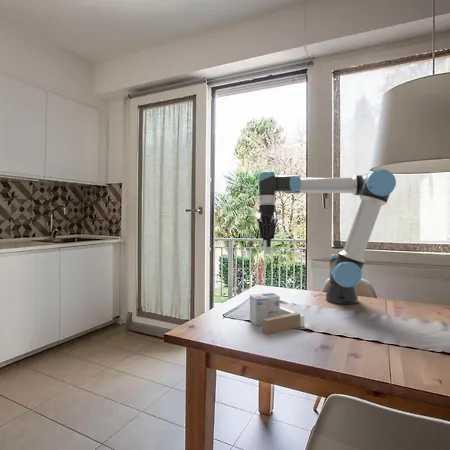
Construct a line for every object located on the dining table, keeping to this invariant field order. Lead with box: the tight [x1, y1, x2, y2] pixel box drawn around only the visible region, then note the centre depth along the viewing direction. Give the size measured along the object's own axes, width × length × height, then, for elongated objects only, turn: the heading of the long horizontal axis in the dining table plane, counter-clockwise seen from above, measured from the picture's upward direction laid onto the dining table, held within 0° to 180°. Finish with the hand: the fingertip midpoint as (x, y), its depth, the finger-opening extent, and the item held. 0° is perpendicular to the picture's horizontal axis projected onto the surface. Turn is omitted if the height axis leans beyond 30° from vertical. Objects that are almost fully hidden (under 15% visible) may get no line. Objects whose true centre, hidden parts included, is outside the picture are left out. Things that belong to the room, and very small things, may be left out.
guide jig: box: [262, 305, 305, 335], centre depth 133 cm, size 18×24×5 cm
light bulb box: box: [249, 292, 281, 326], centre depth 132 cm, size 11×7×11 cm, turn 108°
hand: (267, 253), depth 157 cm, fingers closed
